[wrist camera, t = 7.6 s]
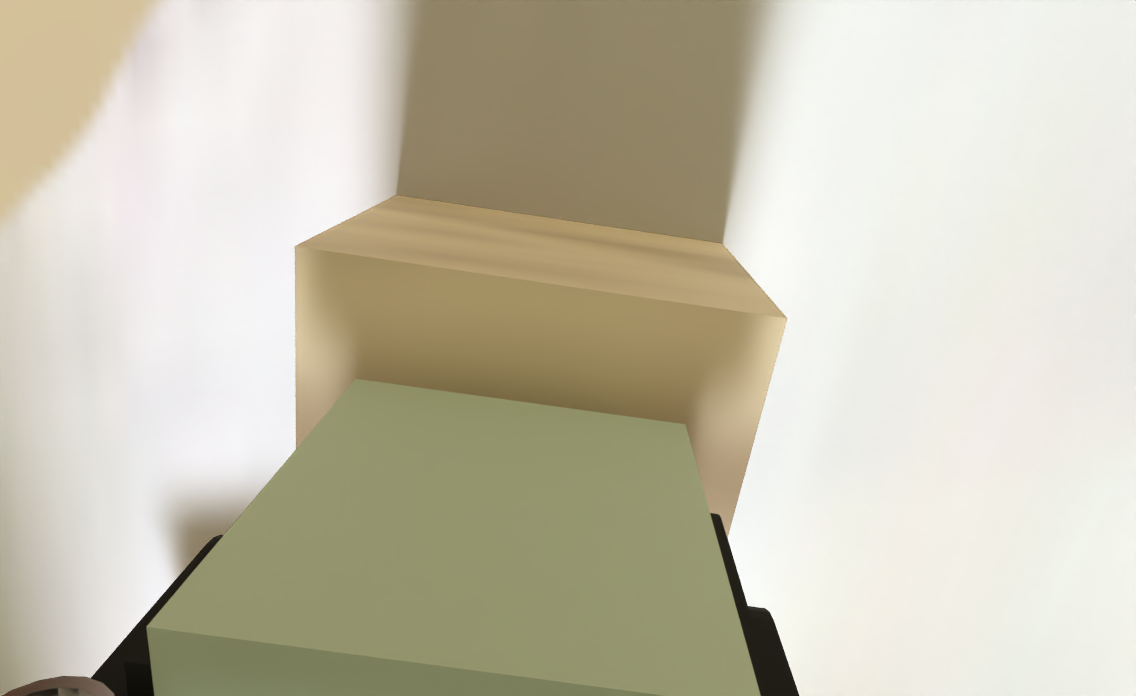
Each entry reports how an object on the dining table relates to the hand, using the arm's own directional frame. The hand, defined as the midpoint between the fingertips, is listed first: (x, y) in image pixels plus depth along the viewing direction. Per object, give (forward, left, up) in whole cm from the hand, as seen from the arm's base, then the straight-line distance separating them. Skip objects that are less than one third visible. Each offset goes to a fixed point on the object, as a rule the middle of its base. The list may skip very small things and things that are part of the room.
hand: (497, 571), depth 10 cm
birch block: (0, 0, -8) cm, 8 cm away
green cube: (0, 0, -1) cm, 1 cm away
